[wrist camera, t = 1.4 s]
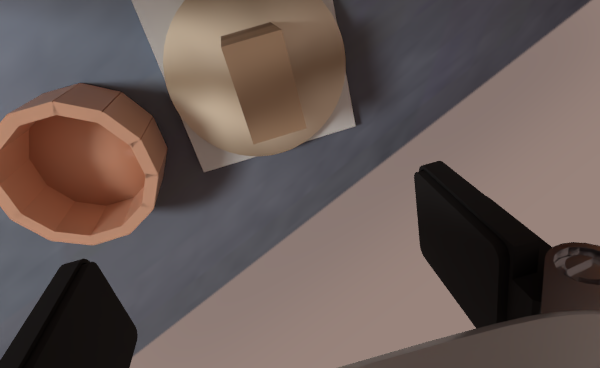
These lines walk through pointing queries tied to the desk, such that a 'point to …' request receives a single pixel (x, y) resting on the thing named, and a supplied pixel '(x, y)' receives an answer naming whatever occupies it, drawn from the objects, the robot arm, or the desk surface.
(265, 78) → the lid
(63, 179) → the bowl
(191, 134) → the mat
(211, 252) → the desk surface
